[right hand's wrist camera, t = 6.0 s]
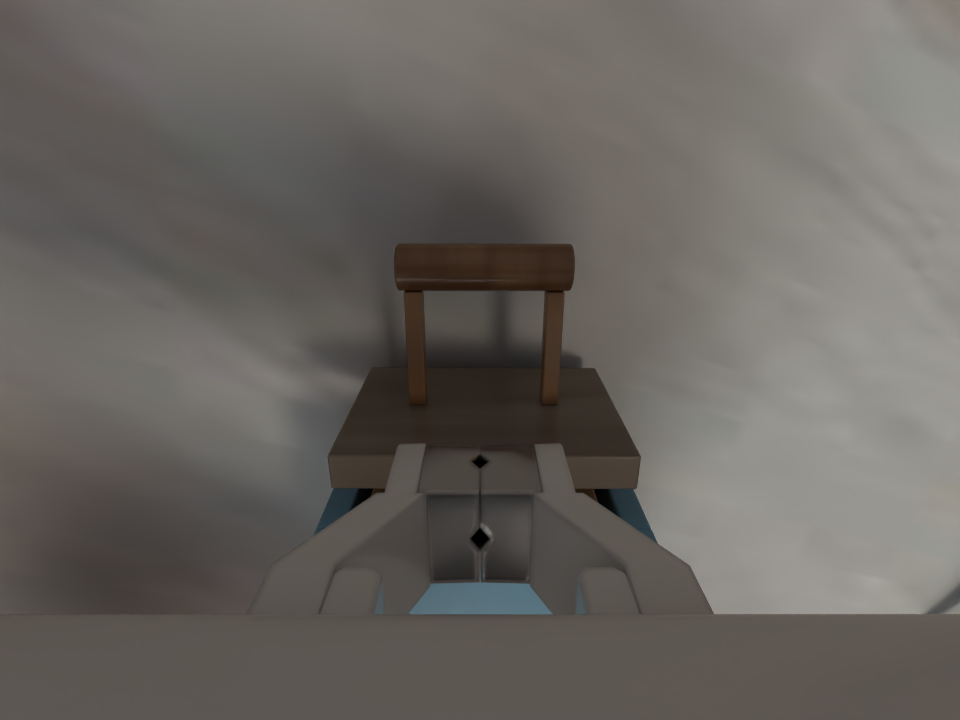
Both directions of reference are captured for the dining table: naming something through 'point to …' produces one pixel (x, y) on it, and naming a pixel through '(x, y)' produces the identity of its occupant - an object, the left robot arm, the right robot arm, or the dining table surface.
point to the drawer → (485, 379)
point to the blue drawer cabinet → (480, 594)
